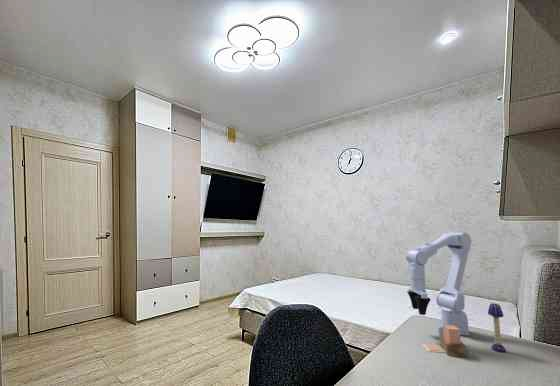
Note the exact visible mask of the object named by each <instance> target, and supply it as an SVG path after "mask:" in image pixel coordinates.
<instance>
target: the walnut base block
mask: <svg viewBox="0 0 560 386" xmlns="http://www.w3.org/2000/svg"><path fill="white" fill-rule="evenodd" d="M440 343H441V344H440V345H441V348H442V349H443V350H444V351H445V352H446V353H445V354H446V355H447V356H451V357H462V358H467V346H466V345H465V344H464V343H463V342H462V341H461V344H450V343H448V342H447V341H446V340H445V339H443V337H441V341H440Z"/></svg>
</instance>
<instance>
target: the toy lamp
mask: <svg viewBox="0 0 560 386" xmlns="http://www.w3.org/2000/svg"><path fill="white" fill-rule="evenodd" d="M487 310H488V311H487V314H488V315H489V316H491V317H493V326H494V329H493V330H494V343H493V344H491V349H492V350H494V351H495V352H499V353H506V352H507V349H506V347H504V345H502V342H501V341H502V339H501V329H500V327H501V326H500V325H501V324H500V318H503V317H504V313H503V311H502V307H501V305H500V304H498V303H493V302H492V303H490V304H489V306H488V309H487Z"/></svg>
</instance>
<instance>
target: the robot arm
mask: <svg viewBox="0 0 560 386" xmlns="http://www.w3.org/2000/svg"><path fill="white" fill-rule="evenodd" d="M471 246H472V238H471V236H470V234H469V233H467V232H450V231H446V232H444V233H442V234H441V236H439V237H438V238H437V239H436V240H434V241H433V242H429V241H428V242H424V243H423V244H422V245H421V246H417V247H416V248H415V249H410V250H408V252H407V254H406V257H405V258H406V261H407V262H408V266H409V281H410V285H409V287H408V288H407V292H406V293H407V294H408V296H409V299H410V301H411V302H410V303H411V305H412V306H411V307H412V309H413V310H418V314H419V315H422V316H426V314H427V309H428V306H429V303H430V301H431V298H430V297H428V293H427V289H426V270H425V269H426V268H425V265H426V264H427V262H428V260H429V259H430V258H432V257H433V256H435V255H436V254H438V250H440V249H442V248H444V247H447V248H448V249H449V250H450V251H451V252H452V253H453V257H452V260H451V264H450V268H449V272H448V274H447V275H448V277H447V280H446V285H444V286H443V287H441V288H440V289H439V292H438V293H437V295H436V297H435V302H436V304H437V305H438V306H439V309H440V314H441V315H440V316H441V317H440V318H441V319H440V320H441V326H440V325H438V326H437V328H439V327H443V325H454V326H456V327H457V328H459V329H460V336H470V333H469V320H468V316H467V314H466V312H465V311H464V309H465V306H466V305H465V298H466V297H465V295H464V294H463V293H462V291H460V290H461V287H462V282H463V278H464V275H465V273H464V272H465V271H466V265H467V261H468V257H469V253H470V249H471Z"/></svg>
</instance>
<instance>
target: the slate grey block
mask: <svg viewBox="0 0 560 386" xmlns="http://www.w3.org/2000/svg"><path fill="white" fill-rule="evenodd" d="M441 337H443V327H438V338H439V341H440V342H441Z"/></svg>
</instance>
